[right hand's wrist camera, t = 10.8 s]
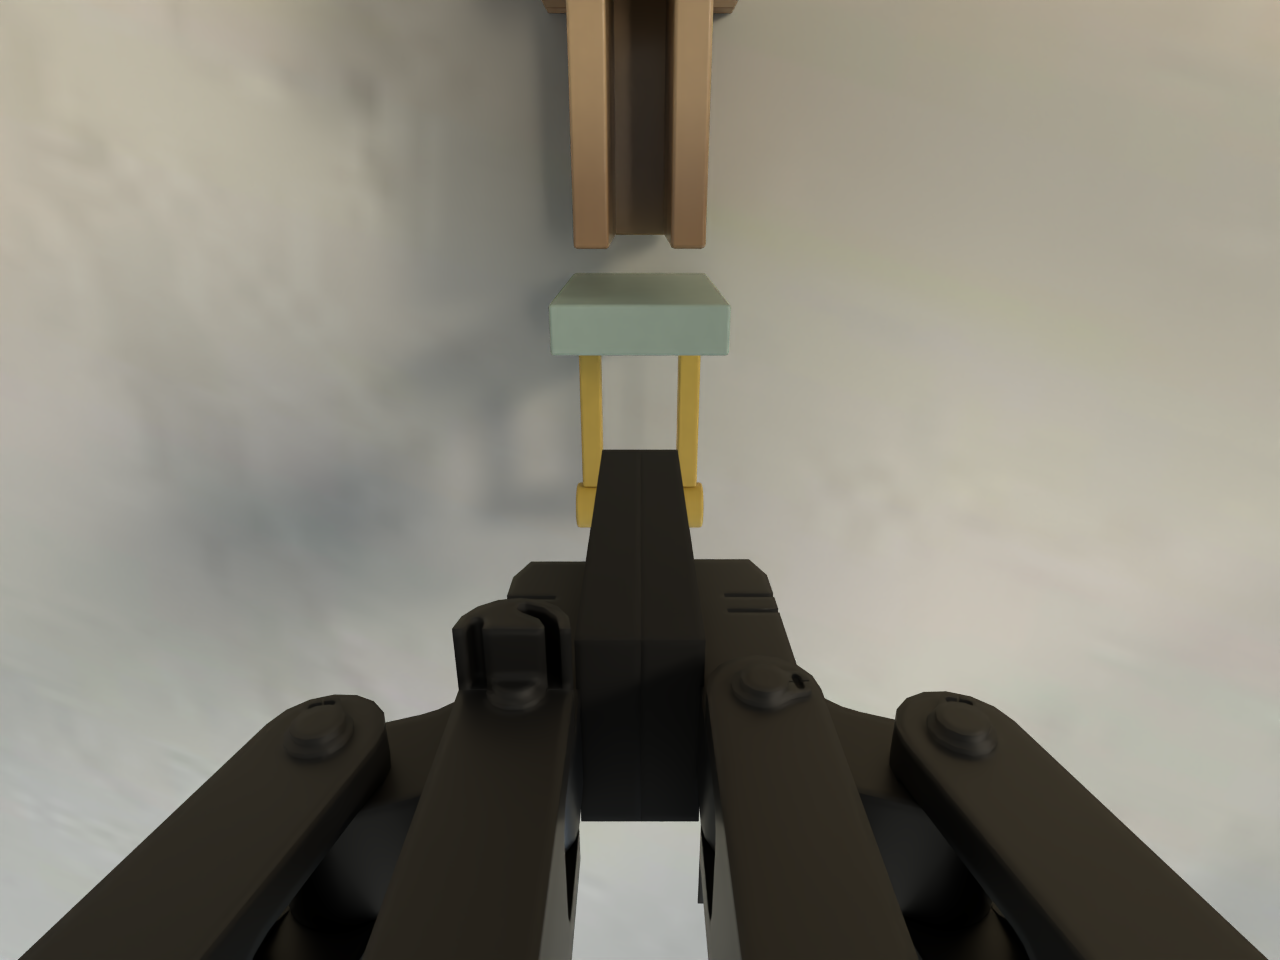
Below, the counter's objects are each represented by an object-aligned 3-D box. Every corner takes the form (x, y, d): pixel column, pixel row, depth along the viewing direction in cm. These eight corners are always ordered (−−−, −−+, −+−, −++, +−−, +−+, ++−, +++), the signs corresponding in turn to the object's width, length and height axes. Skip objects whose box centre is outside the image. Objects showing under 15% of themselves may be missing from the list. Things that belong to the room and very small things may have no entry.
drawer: (699, 481, 26) (718, 578, 19) (580, 481, 26) (560, 577, 19) (732, -533, 17) (791, -990, 10) (547, -533, 17) (488, -992, 10)
